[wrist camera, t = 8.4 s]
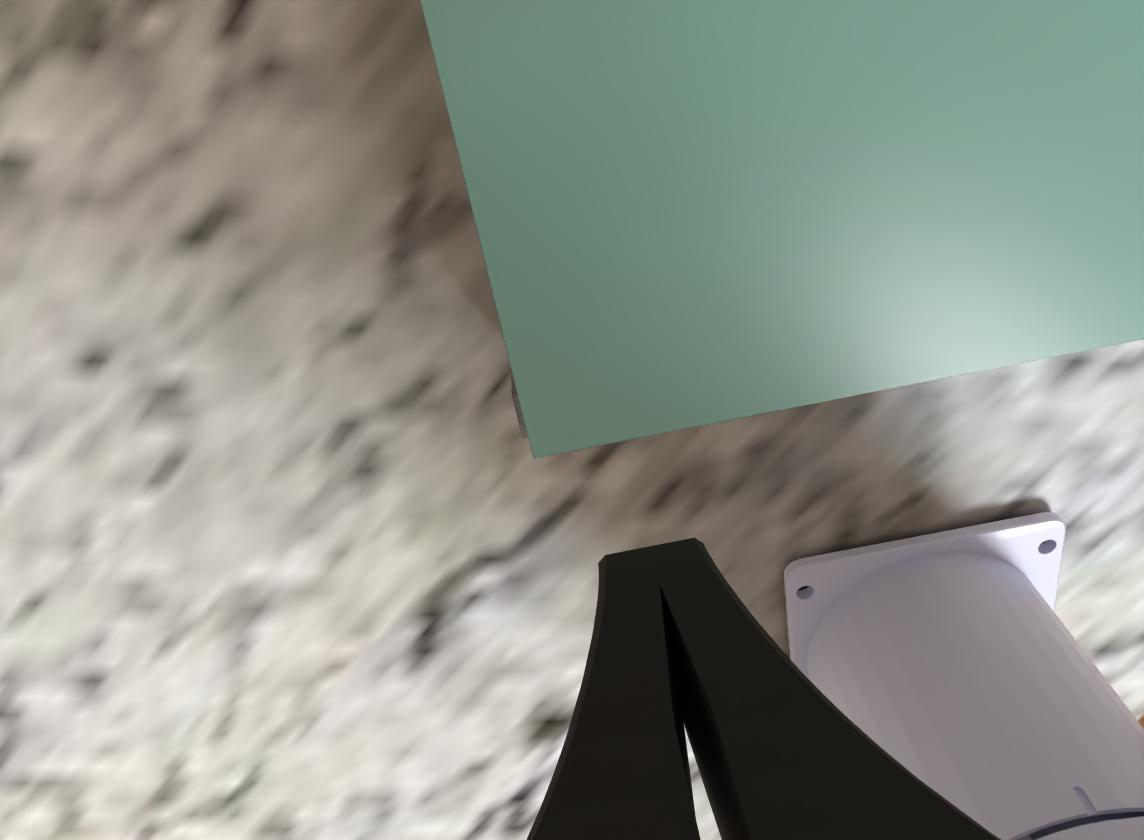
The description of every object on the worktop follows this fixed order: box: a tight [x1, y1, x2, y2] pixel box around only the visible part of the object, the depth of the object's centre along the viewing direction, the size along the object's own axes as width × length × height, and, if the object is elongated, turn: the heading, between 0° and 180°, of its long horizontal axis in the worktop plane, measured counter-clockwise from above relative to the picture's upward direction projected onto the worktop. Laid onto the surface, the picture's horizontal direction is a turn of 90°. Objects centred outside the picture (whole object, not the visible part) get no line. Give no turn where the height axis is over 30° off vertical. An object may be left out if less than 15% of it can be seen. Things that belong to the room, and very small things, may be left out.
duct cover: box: [420, 0, 1144, 458], centre depth 15 cm, size 10×22×1 cm, turn 100°
